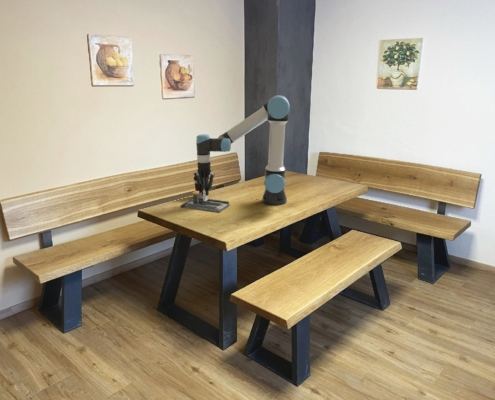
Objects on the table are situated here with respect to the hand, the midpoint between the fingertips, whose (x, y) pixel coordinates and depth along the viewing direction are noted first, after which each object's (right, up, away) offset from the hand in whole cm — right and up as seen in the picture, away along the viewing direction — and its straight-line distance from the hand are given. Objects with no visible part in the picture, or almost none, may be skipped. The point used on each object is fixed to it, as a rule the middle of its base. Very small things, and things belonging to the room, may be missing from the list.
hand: (205, 200), depth 248 cm
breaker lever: (-6, -2, +3) cm, 7 cm away
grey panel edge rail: (-11, -2, +5) cm, 12 cm away
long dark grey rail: (+2, -1, +9) cm, 10 cm away
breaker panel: (0, -4, +1) cm, 4 cm away
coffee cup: (-4, +2, +20) cm, 20 cm away
